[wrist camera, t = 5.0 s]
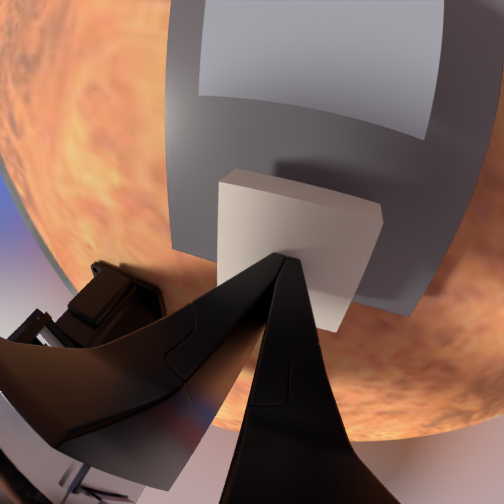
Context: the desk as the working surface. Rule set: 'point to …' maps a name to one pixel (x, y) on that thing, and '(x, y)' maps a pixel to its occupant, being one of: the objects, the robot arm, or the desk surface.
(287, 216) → the key cream
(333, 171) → the keypad board
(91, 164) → the desk surface
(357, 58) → the key slate
